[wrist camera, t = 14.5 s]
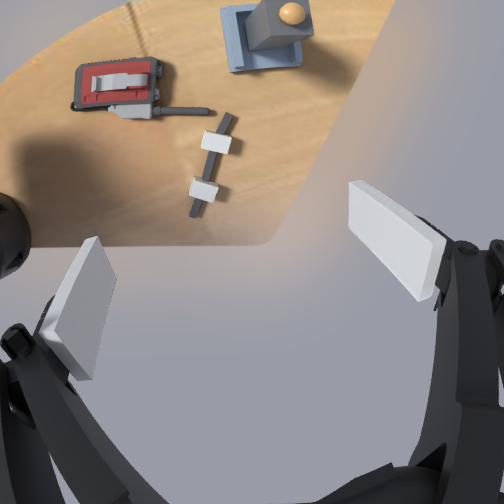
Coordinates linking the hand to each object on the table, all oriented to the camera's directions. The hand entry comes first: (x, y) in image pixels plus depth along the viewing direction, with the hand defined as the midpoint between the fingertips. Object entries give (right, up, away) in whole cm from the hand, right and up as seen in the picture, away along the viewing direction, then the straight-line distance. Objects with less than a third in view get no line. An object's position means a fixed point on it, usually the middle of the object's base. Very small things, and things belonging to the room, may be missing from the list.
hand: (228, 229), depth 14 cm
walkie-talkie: (-14, +21, +19) cm, 32 cm away
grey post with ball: (+2, +28, +17) cm, 33 cm away
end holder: (+2, +28, +18) cm, 33 cm away
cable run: (-5, +11, +26) cm, 29 cm away
